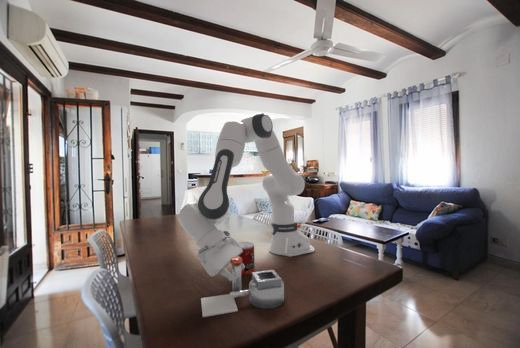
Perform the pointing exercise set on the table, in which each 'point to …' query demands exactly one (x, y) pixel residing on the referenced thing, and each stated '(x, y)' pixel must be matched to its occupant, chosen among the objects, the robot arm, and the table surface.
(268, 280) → the square socket stand
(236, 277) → the red capped grey cylinder
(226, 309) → the rubber mat
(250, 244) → the canned food
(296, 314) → the table surface
